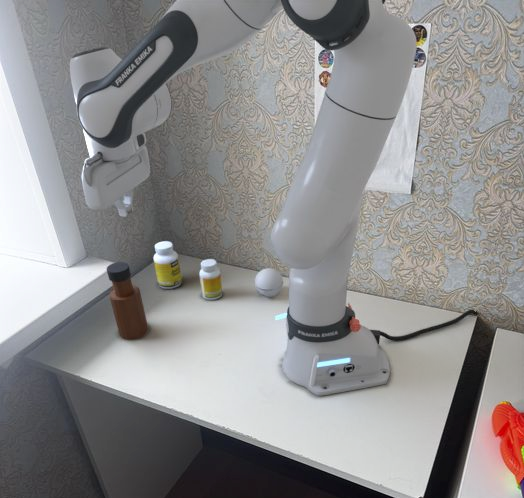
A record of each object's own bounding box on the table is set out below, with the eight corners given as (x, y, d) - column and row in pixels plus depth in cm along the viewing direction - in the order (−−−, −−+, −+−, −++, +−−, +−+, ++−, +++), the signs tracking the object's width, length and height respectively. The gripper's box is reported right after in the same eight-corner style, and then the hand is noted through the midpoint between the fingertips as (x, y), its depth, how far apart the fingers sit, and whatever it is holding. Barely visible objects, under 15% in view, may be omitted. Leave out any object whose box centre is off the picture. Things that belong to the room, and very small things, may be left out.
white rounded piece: (249, 296, 130) (247, 271, 126) (267, 284, 135) (266, 260, 130) (280, 308, 125) (279, 283, 121) (297, 295, 130) (297, 270, 125)
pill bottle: (171, 292, 134) (164, 252, 127) (153, 286, 137) (145, 247, 130) (187, 281, 138) (181, 242, 131) (169, 275, 141) (162, 237, 134)
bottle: (150, 322, 123) (138, 268, 114) (145, 339, 117) (132, 283, 108) (122, 324, 123) (108, 269, 114) (116, 340, 117) (101, 285, 108)
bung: (134, 277, 114) (130, 261, 111) (130, 288, 110) (126, 271, 108) (113, 278, 114) (109, 262, 111) (108, 289, 110) (104, 273, 108)
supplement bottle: (198, 294, 132) (193, 262, 126) (214, 287, 135) (211, 255, 129) (209, 302, 129) (205, 269, 123) (226, 295, 131) (223, 262, 125)
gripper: (96, 163, 88) (114, 236, 96) (149, 131, 103) (161, 197, 112) (66, 161, 90) (86, 233, 98) (122, 131, 105) (135, 195, 113)
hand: (126, 213), depth 105 cm, fingers closed
